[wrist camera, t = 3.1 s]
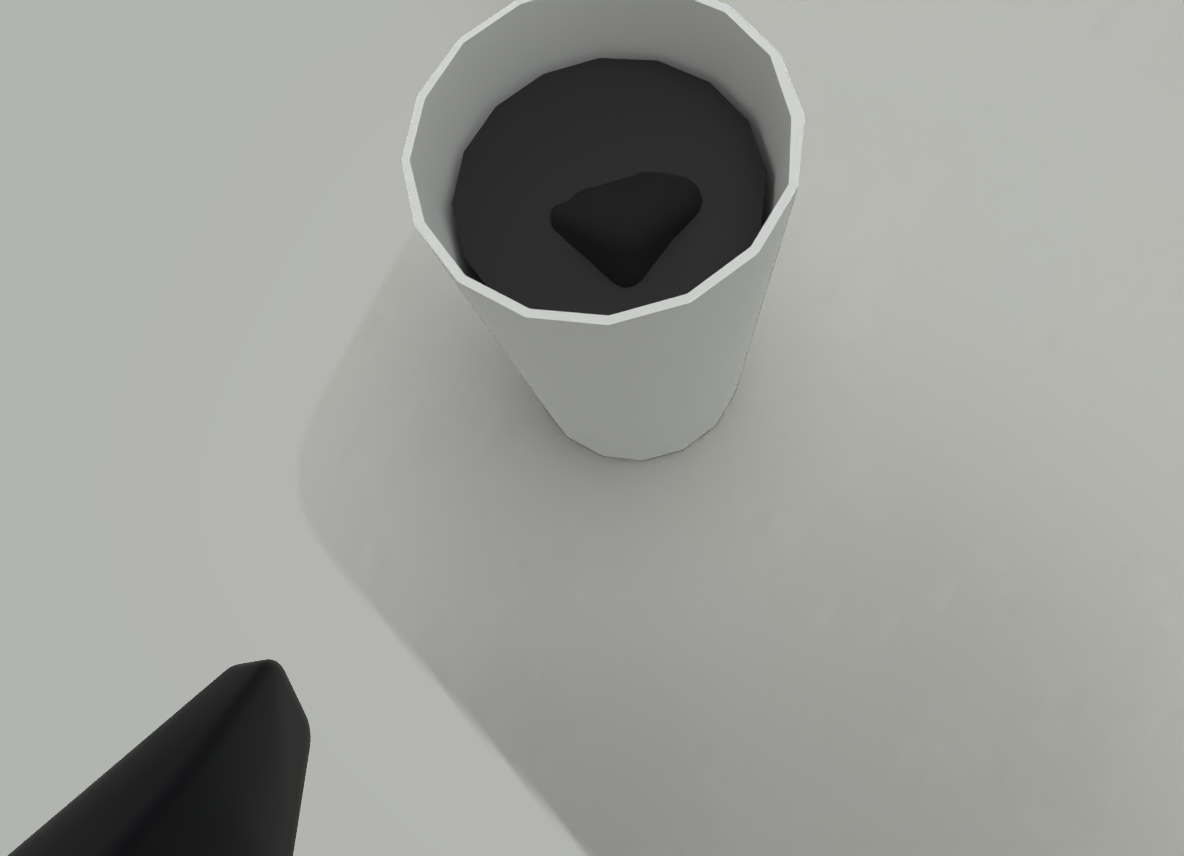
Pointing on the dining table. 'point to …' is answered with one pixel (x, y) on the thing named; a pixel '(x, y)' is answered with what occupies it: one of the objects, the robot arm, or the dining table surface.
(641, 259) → the white paper cup
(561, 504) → the dining table surface
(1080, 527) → the dining table surface
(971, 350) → the dining table surface
